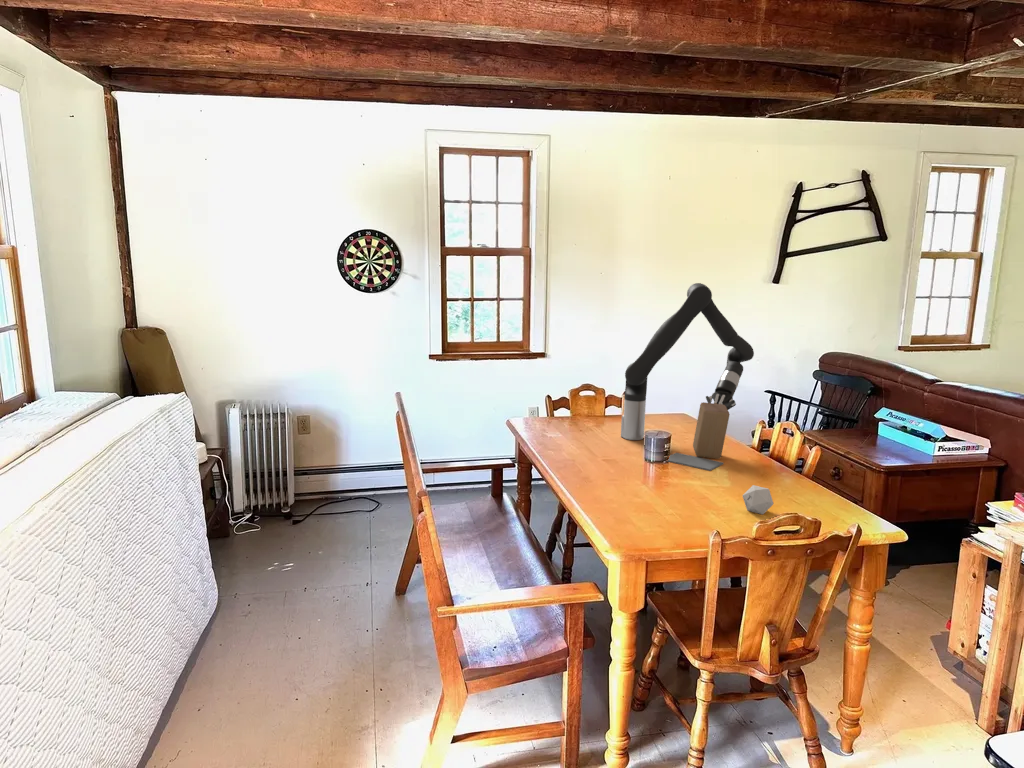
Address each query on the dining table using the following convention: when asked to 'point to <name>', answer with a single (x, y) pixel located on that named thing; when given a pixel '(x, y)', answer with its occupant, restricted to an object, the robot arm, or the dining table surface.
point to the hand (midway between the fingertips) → (713, 418)
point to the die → (758, 499)
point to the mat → (694, 461)
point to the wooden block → (710, 430)
